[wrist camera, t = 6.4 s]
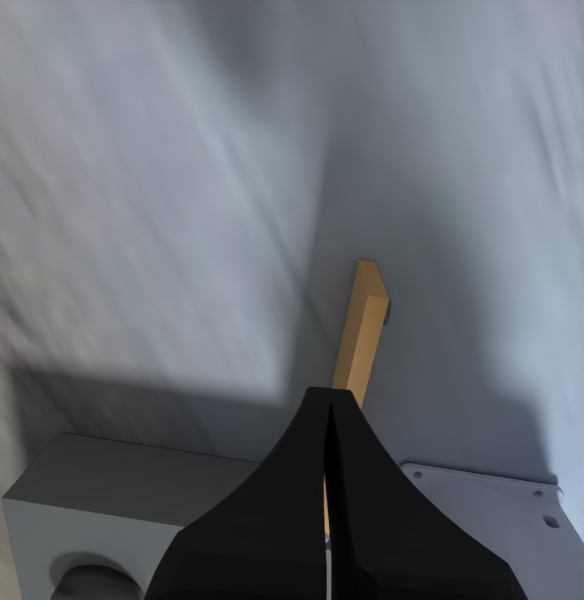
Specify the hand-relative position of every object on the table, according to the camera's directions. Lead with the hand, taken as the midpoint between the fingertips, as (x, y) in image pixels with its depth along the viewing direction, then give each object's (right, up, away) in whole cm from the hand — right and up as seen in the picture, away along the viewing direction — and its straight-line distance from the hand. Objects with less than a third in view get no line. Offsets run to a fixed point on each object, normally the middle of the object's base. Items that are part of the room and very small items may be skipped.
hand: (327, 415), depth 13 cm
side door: (+2, -1, +10) cm, 10 cm away
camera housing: (-7, -11, +15) cm, 20 cm away
